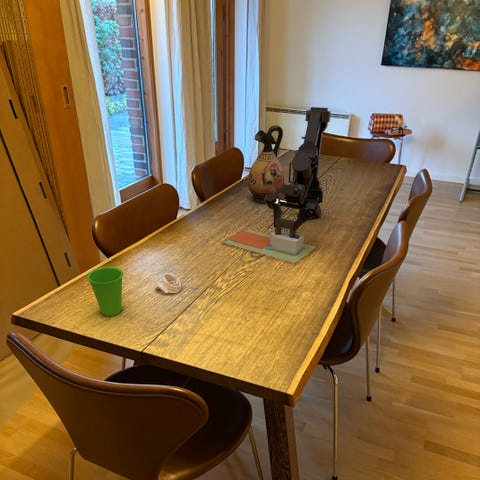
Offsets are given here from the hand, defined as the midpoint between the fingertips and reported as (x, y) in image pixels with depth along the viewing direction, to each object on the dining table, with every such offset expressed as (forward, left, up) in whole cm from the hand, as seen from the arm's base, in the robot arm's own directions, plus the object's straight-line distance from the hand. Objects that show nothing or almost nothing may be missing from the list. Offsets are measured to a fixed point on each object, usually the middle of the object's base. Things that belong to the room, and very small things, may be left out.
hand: (283, 229), depth 153 cm
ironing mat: (+2, -6, -8) cm, 10 cm away
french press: (-41, -55, -8) cm, 69 cm away
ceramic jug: (-21, -50, -8) cm, 55 cm away
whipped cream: (+42, +8, -8) cm, 44 cm away
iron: (-1, -1, -8) cm, 8 cm away
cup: (+60, +13, -8) cm, 62 cm away
